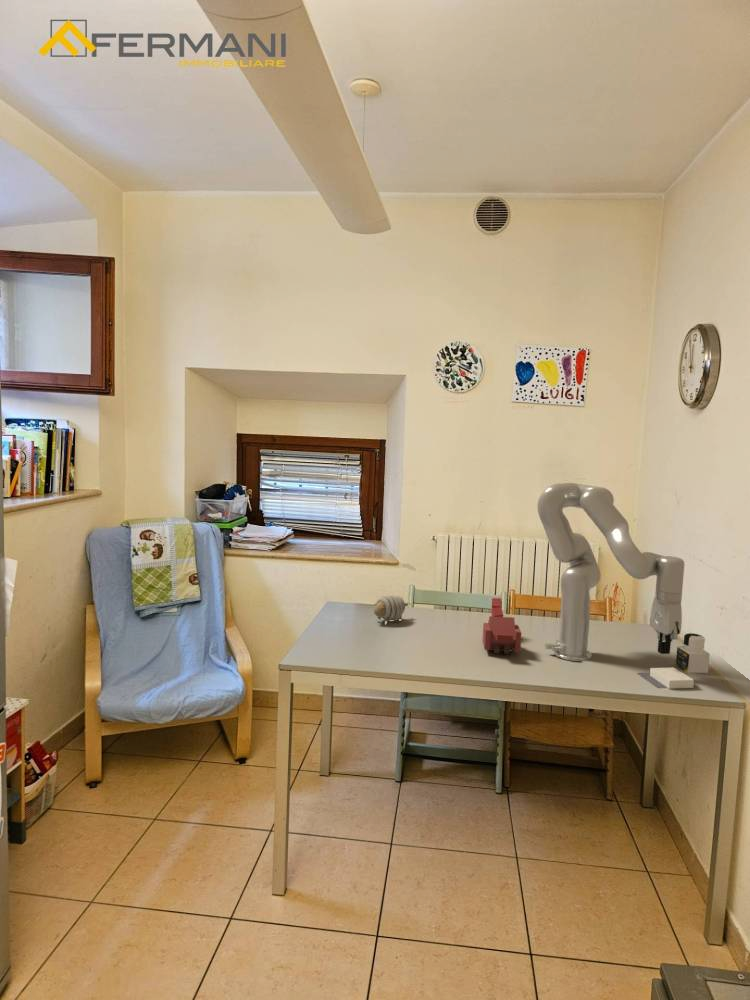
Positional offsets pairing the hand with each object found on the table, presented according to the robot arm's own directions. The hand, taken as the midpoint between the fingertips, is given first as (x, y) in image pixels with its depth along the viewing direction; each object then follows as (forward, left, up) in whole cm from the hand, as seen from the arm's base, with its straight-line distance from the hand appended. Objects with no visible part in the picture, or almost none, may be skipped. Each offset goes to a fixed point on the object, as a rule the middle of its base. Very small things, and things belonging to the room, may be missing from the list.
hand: (663, 652), depth 198 cm
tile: (0, 0, -6) cm, 6 cm away
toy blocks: (-43, +31, -8) cm, 54 cm away
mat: (0, -3, -8) cm, 9 cm away
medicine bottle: (+14, +5, -8) cm, 17 cm away
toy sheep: (-77, +61, -8) cm, 99 cm away
